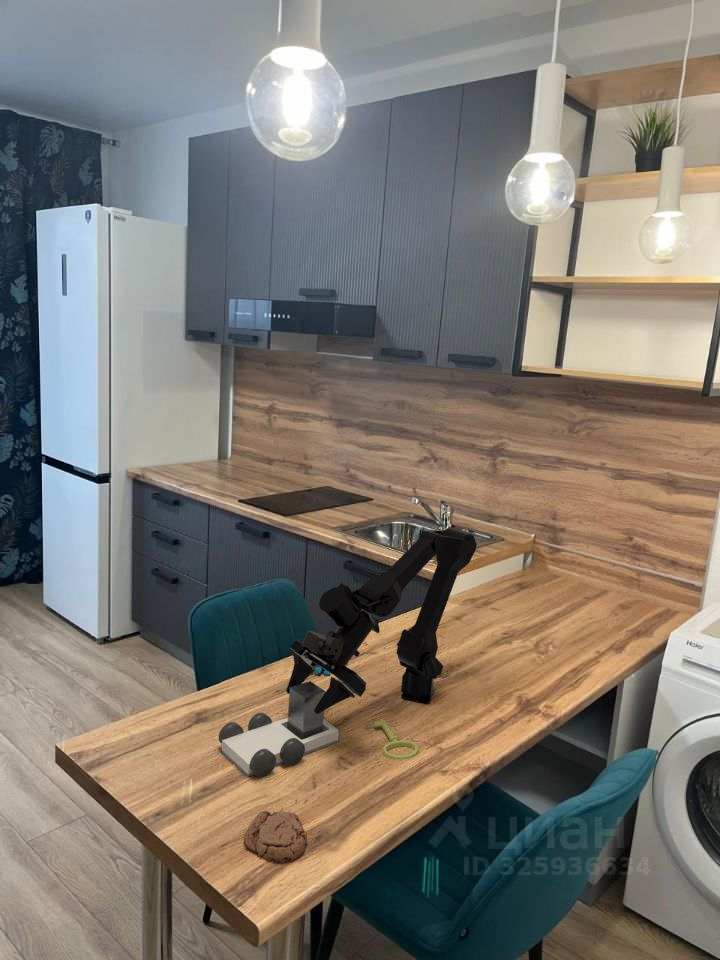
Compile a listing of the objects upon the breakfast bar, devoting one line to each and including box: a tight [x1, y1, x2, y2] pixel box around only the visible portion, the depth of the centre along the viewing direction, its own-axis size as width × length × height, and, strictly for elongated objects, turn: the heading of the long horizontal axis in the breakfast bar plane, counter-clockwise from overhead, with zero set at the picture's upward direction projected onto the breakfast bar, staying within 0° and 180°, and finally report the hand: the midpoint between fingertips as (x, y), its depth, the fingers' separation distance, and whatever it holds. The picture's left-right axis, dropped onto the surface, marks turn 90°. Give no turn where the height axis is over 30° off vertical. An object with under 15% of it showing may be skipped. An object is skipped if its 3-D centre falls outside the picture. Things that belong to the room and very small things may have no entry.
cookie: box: [243, 810, 308, 864], centre depth 115 cm, size 10×11×3 cm
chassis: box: [218, 712, 339, 778], centre depth 141 cm, size 21×13×5 cm, turn 131°
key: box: [372, 718, 419, 761], centre depth 145 cm, size 7×12×2 cm, turn 39°
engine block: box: [287, 680, 327, 740], centre depth 144 cm, size 5×5×10 cm
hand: (301, 702), depth 142 cm, fingers open, 9 cm apart
